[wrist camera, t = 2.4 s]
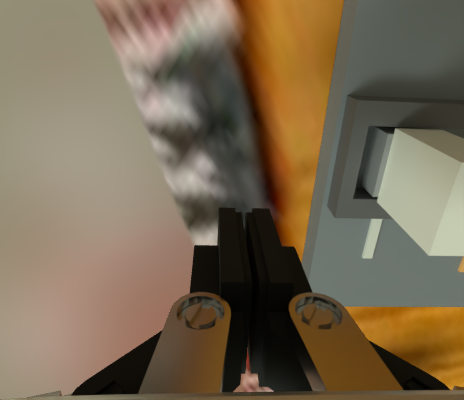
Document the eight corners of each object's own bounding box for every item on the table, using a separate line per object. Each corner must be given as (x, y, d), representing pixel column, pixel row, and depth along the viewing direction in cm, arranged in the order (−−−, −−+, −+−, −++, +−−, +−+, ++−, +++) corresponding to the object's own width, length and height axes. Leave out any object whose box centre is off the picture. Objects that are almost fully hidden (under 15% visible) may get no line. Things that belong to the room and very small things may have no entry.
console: (357, -83, 16) (392, -112, 13) (653, -62, 17) (752, -84, 14) (297, 287, 26) (309, 322, 22) (489, 288, 27) (526, 322, 23)
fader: (375, 120, 18) (453, 162, 12) (430, 122, 18) (533, 164, 12) (360, 189, 20) (421, 255, 14) (410, 190, 20) (492, 256, 14)
